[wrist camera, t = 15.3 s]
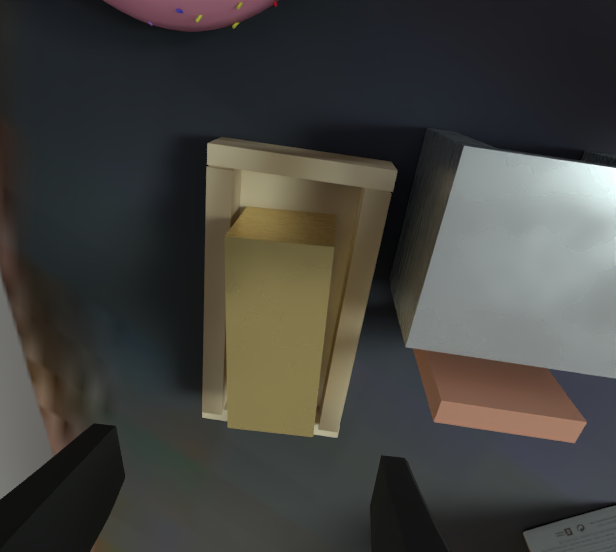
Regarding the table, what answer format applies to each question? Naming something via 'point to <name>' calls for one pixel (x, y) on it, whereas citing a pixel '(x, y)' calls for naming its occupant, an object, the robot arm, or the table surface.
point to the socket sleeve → (509, 256)
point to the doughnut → (192, 12)
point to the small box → (576, 533)
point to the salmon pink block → (497, 396)
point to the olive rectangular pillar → (276, 317)
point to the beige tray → (346, 261)
